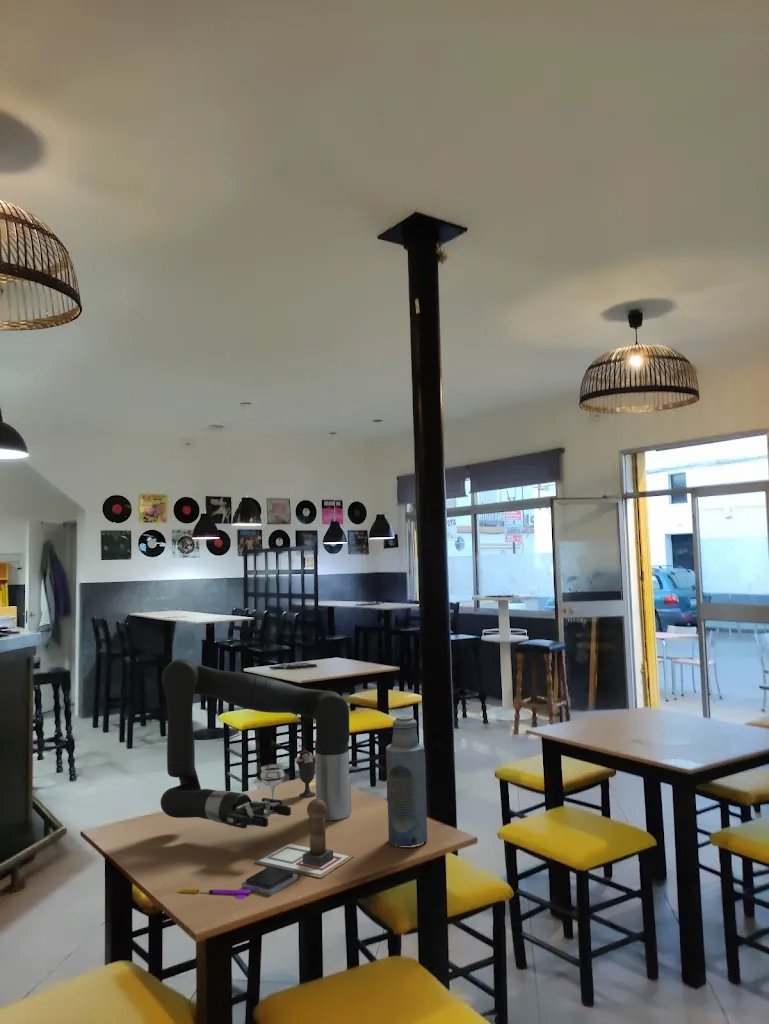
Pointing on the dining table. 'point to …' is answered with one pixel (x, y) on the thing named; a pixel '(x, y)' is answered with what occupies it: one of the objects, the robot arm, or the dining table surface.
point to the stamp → (317, 835)
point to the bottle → (406, 785)
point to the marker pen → (220, 892)
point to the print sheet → (297, 860)
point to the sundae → (306, 771)
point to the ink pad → (269, 880)
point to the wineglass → (272, 776)
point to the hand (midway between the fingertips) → (278, 816)
